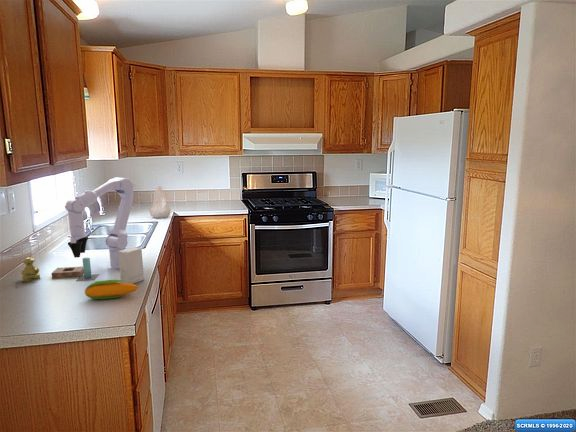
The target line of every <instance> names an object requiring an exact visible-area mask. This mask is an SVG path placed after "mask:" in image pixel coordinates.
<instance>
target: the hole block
mask: <svg viewBox="0 0 576 432" xmlns="http://www.w3.org/2000/svg"><path fill="white" fill-rule="evenodd" d="M82 275H84V270H83V265H82V266H67V267H66V266H65V267H57V268H56V269H54V270H53V271H52V272H51V279H71V278H73V279H74V278H79V277H81V276H82Z"/></svg>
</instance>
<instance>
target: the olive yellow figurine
mask: <svg viewBox="0 0 576 432" xmlns="http://www.w3.org/2000/svg"><path fill="white" fill-rule="evenodd" d="M35 262H36V259H35V258H34V257H32V258H31V257H27V258H24V259H23V260H22V262H21V263H23V264H24V266H25V267H23V268H22V269H21V270H20V274H21V276H20V279H21V281H22V282H25V283H29V282H34V281H38V280H40V278H41V273H40V268H39V267H36V266H35V265H34V263H35Z"/></svg>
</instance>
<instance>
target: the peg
mask: <svg viewBox="0 0 576 432" xmlns="http://www.w3.org/2000/svg"><path fill="white" fill-rule="evenodd" d="M82 266H83V270H84V274H83V275H84V278H85V279H88V278H91V274H92V267H91V258H90V257H83V258H82Z"/></svg>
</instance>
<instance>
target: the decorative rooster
mask: <svg viewBox="0 0 576 432" xmlns="http://www.w3.org/2000/svg"><path fill="white" fill-rule="evenodd" d="M170 214H171V207H170V205H168V203H167V196H166V192H165V191H164V190H163V188H162V186H161V185H158V186H157V187H156V189H155V190H154V191H153V200H152V204H151V207H150V208H149V215H150V216H151V217H153V218H154V219H155V218H156V219H166V218H168V217H169V216H170ZM165 217H166V218H165Z"/></svg>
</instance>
